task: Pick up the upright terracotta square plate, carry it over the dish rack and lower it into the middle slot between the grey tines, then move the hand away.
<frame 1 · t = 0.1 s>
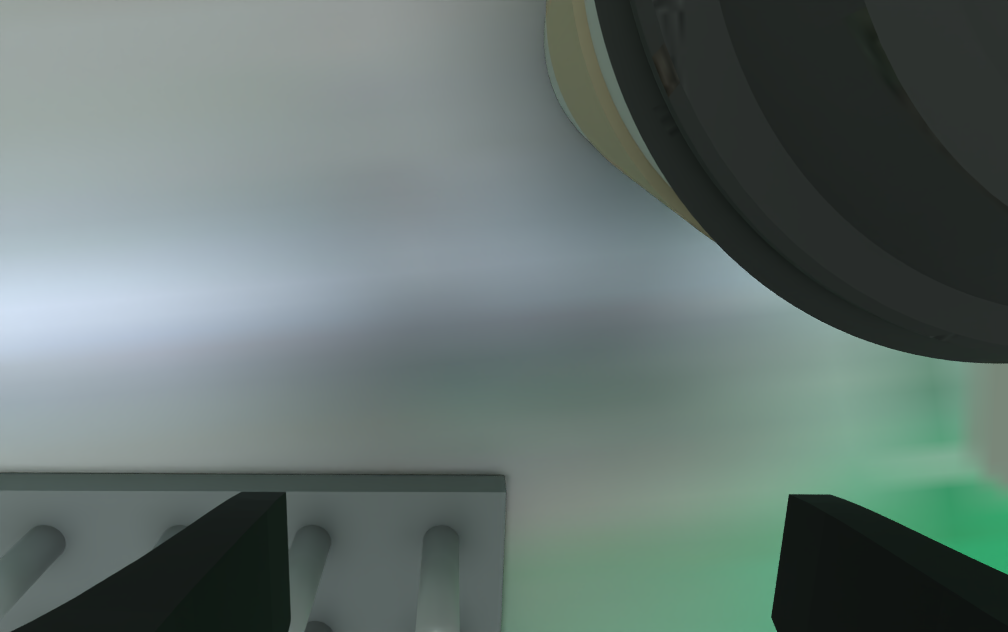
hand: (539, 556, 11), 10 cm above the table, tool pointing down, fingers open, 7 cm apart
coffee cup: (678, 37, 19), on the table
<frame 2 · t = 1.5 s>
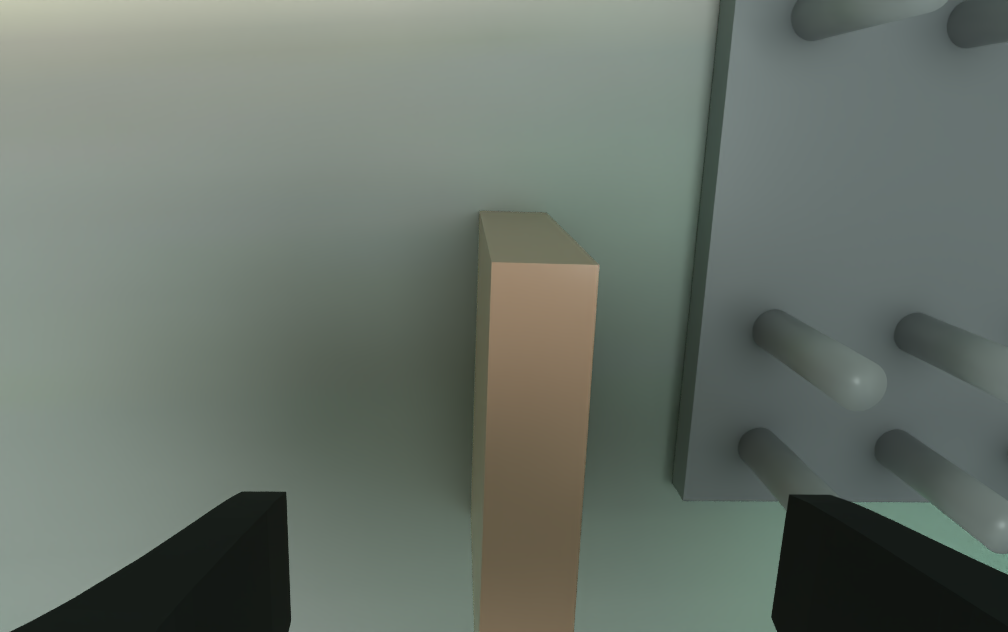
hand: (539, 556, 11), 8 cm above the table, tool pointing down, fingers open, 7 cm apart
plate: (506, 370, 19), on the table
dish rack: (983, 185, 18), on the table
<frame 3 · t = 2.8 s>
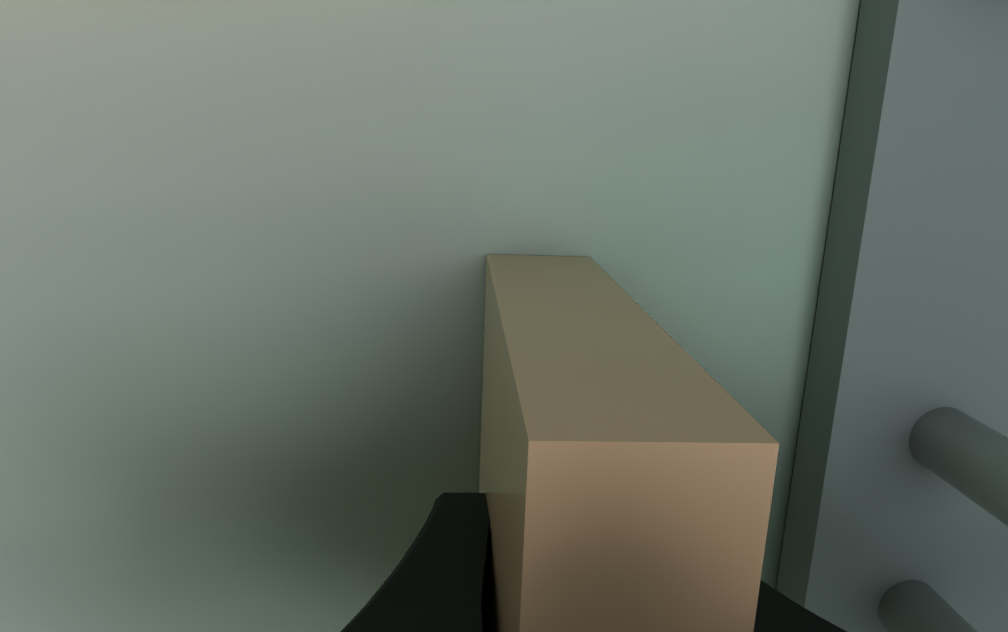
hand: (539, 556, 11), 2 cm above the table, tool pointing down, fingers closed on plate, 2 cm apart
plate: (526, 491, 12), on the table, touching gripper
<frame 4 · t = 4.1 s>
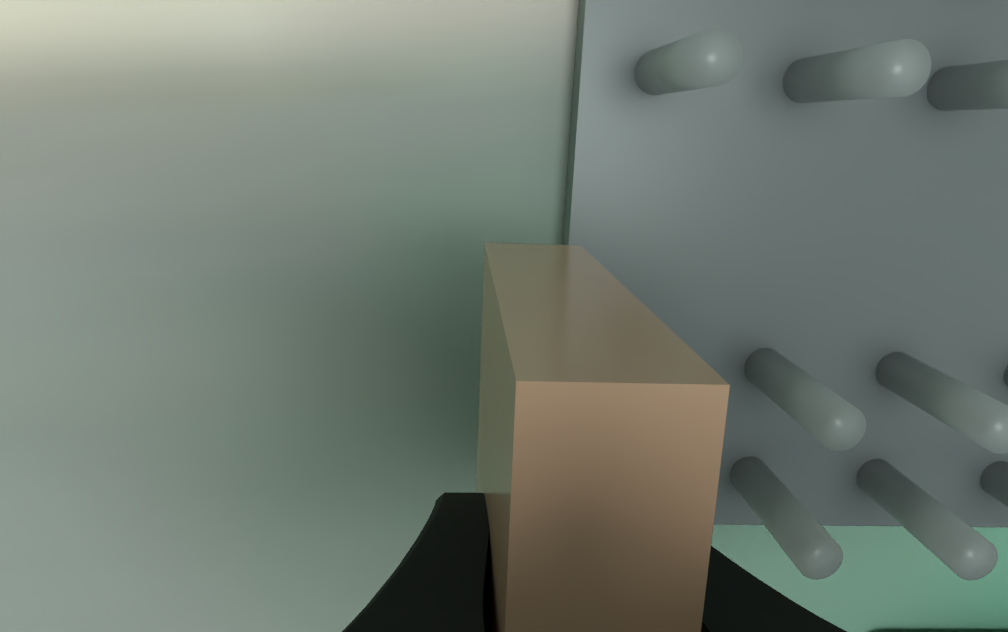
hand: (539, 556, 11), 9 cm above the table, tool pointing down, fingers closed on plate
plate: (522, 467, 13), point 7 cm above the table, touching gripper
dish rack: (831, 227, 19), on the table
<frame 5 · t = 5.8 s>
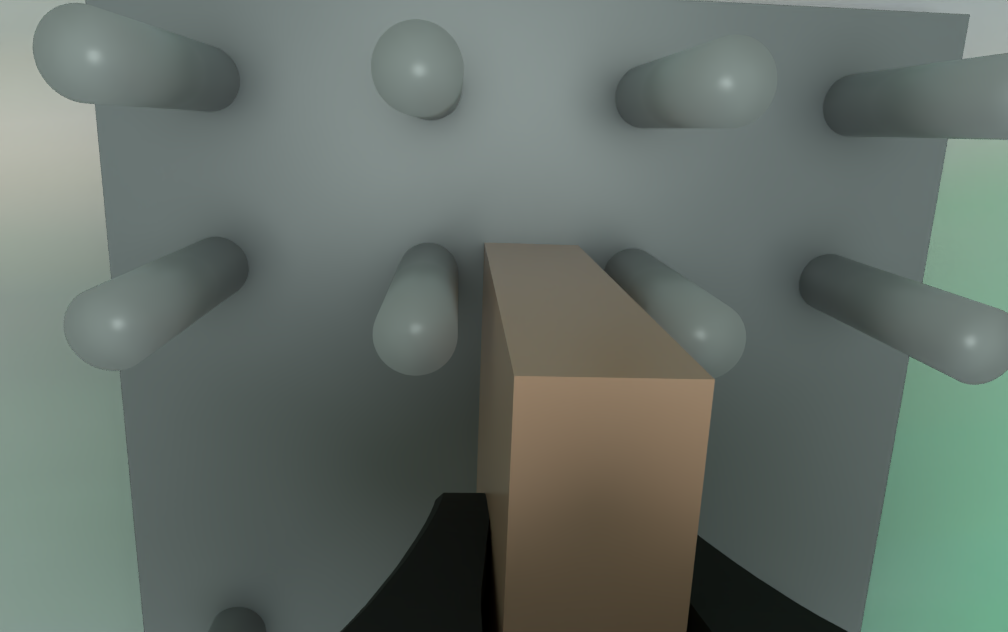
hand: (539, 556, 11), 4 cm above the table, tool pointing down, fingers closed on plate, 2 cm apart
plate: (521, 460, 14), point 1 cm above the table, touching dish rack, gripper
dish rack: (517, 440, 15), on the table
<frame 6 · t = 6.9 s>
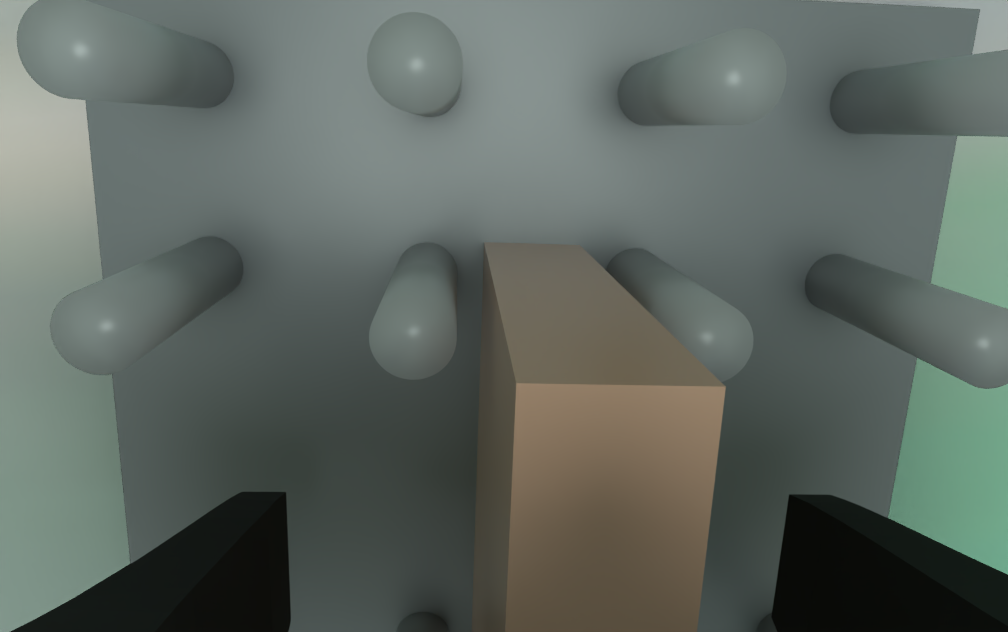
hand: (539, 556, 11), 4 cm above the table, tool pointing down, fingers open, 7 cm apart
plate: (521, 464, 13), point 1 cm above the table, touching dish rack
dish rack: (518, 443, 14), on the table
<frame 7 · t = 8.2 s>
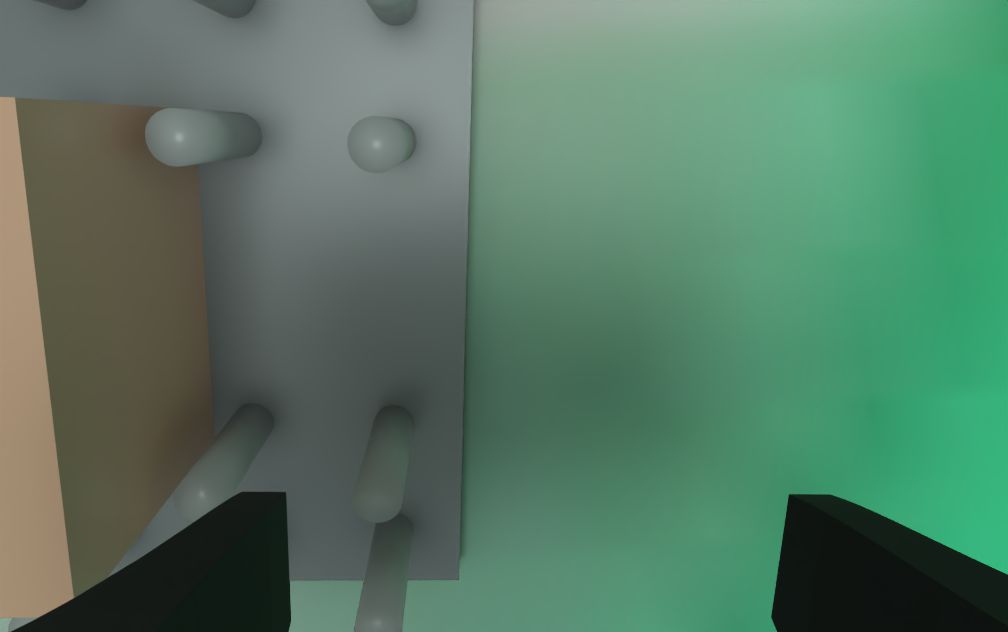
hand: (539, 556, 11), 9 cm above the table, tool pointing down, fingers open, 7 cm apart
plate: (170, 282, 18), point 1 cm above the table, touching dish rack
dish rack: (186, 275, 19), on the table
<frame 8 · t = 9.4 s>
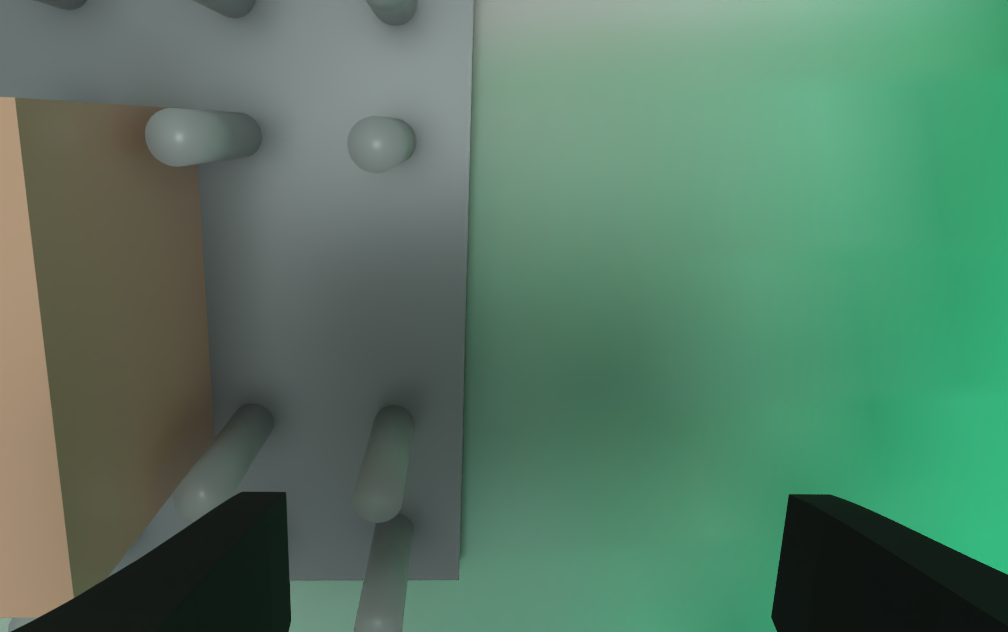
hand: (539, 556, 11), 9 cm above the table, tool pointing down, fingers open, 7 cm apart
plate: (170, 282, 18), point 1 cm above the table, touching dish rack
dish rack: (186, 275, 19), on the table
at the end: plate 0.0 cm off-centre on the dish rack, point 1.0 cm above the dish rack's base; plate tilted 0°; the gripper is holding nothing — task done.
